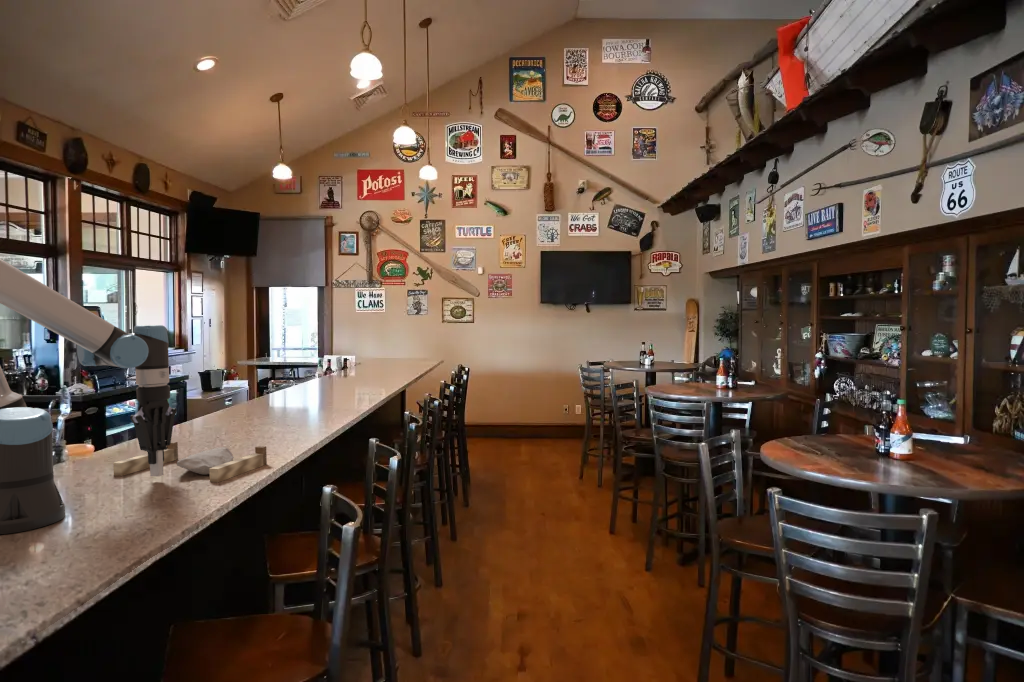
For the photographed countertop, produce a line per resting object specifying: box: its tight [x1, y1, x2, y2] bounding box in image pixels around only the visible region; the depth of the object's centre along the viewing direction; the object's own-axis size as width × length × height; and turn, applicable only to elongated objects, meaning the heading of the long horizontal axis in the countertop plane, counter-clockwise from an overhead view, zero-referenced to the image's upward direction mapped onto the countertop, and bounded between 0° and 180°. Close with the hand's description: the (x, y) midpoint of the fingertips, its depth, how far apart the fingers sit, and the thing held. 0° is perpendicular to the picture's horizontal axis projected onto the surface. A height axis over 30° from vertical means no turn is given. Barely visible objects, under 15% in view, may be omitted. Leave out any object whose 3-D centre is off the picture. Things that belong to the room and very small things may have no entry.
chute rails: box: [112, 441, 268, 483], centre depth 173 cm, size 20×33×5 cm, turn 76°
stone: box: [176, 446, 234, 476], centre depth 176 cm, size 12×5×25 cm
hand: (156, 475), depth 161 cm, fingers closed
